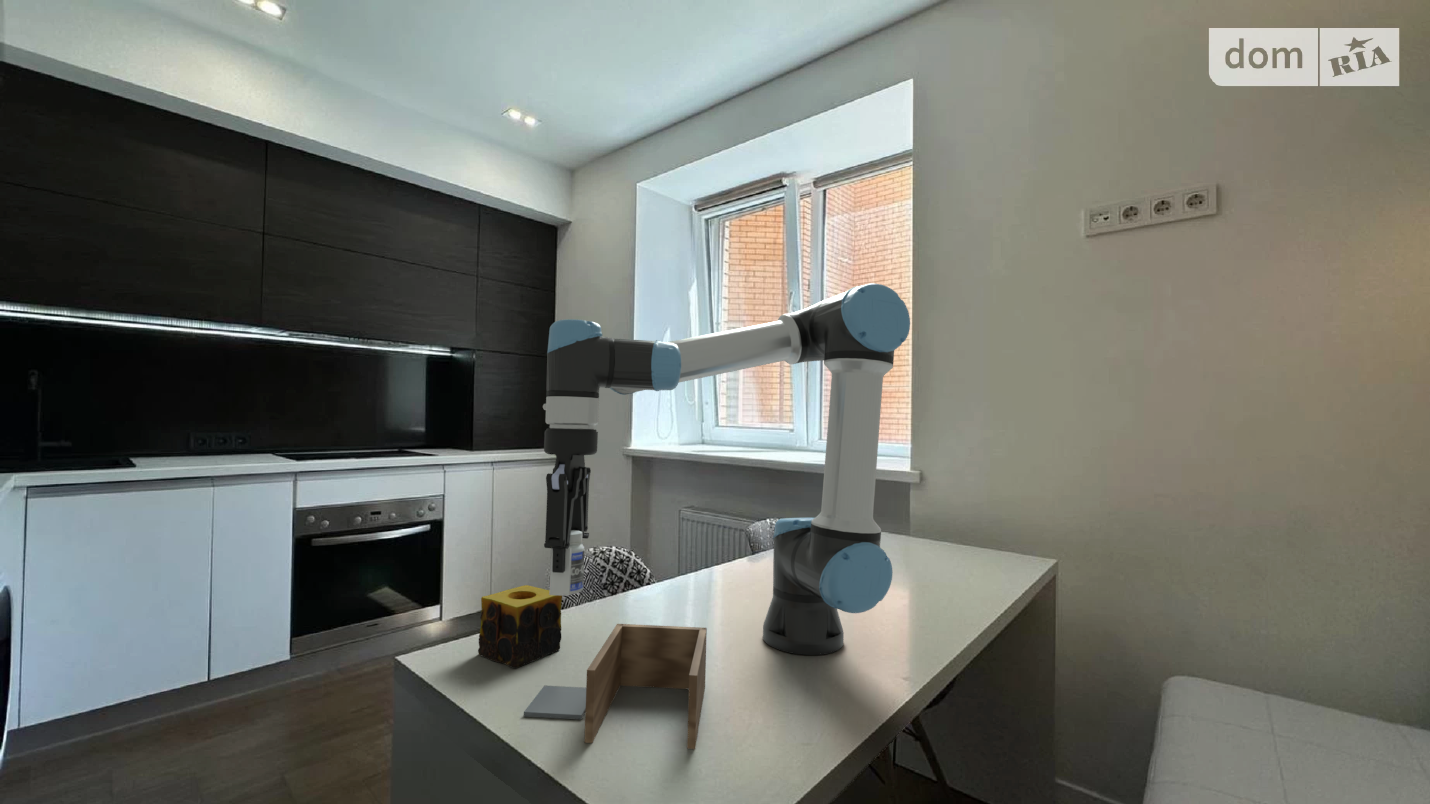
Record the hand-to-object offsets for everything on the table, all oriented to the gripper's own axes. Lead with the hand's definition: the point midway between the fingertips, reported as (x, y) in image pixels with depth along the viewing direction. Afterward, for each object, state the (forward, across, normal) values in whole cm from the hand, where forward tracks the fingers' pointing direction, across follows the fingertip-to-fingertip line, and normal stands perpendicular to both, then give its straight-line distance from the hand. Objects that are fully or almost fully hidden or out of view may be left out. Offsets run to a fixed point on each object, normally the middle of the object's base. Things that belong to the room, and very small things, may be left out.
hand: (565, 588), depth 83 cm
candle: (+17, -17, -13) cm, 27 cm away
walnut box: (+16, +1, +13) cm, 21 cm away
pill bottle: (+1, 0, 0) cm, 1 cm away
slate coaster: (+16, 0, 0) cm, 16 cm away
